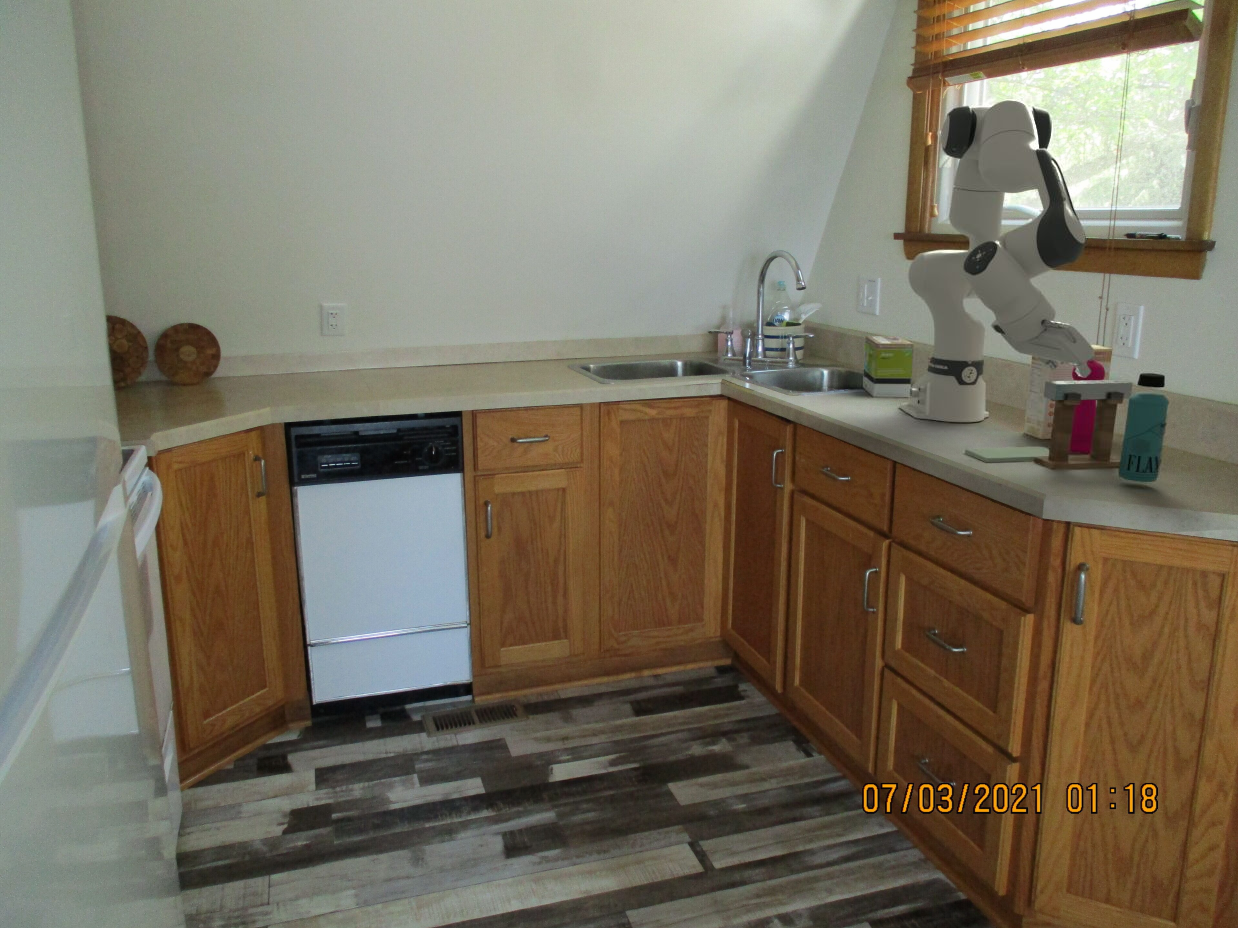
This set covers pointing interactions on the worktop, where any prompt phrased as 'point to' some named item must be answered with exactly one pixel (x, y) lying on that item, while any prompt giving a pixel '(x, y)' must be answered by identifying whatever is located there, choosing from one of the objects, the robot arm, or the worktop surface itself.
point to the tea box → (888, 366)
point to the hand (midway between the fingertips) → (1069, 370)
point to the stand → (1099, 440)
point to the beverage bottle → (1144, 431)
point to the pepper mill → (1085, 412)
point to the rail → (1086, 389)
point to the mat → (1008, 454)
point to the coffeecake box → (1043, 408)
